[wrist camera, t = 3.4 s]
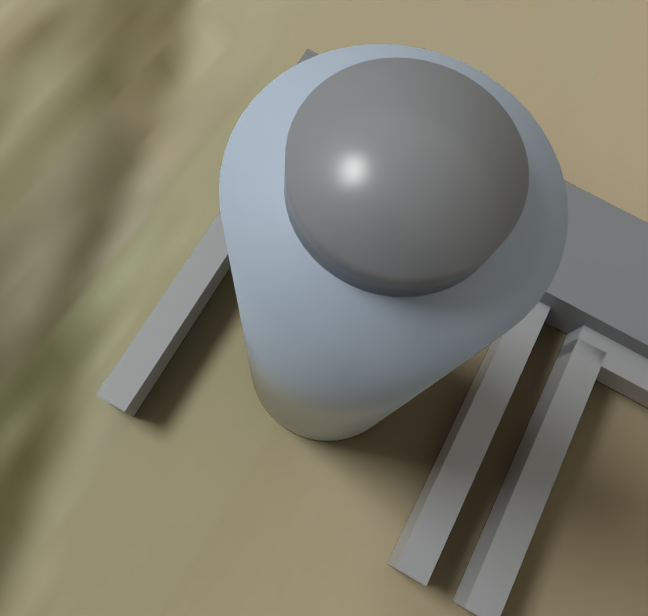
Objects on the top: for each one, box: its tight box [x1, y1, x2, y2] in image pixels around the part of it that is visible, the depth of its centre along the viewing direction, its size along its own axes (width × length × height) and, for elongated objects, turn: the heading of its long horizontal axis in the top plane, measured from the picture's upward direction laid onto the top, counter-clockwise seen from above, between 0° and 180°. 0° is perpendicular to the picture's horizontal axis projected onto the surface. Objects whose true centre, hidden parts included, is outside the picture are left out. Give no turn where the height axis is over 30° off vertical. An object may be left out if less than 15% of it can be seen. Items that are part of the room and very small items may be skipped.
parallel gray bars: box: [96, 49, 648, 616], centre depth 19 cm, size 24×14×2 cm, turn 61°
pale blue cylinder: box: [219, 44, 568, 441], centre depth 14 cm, size 5×5×13 cm
